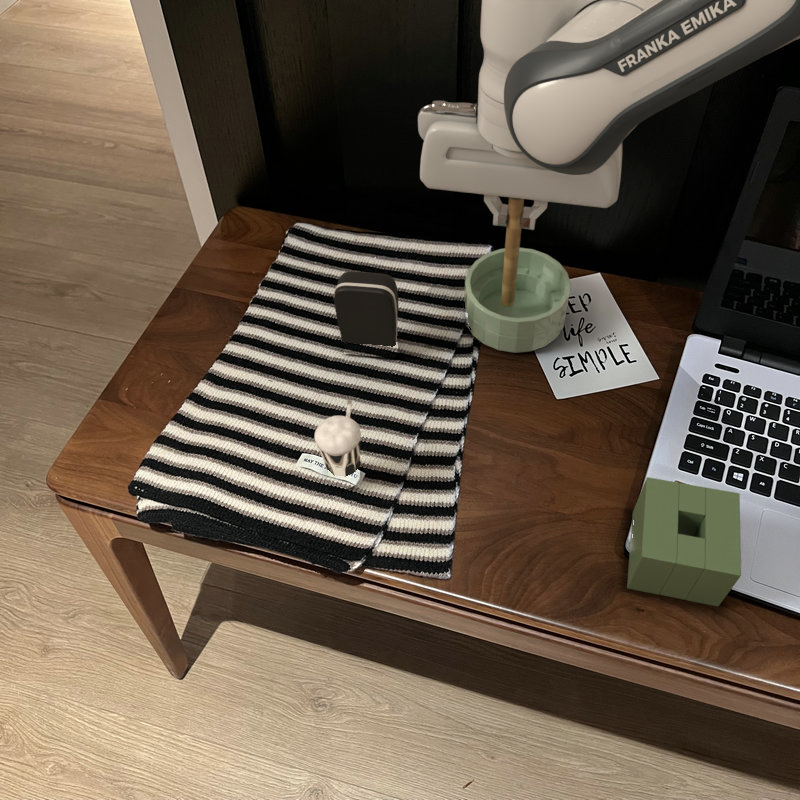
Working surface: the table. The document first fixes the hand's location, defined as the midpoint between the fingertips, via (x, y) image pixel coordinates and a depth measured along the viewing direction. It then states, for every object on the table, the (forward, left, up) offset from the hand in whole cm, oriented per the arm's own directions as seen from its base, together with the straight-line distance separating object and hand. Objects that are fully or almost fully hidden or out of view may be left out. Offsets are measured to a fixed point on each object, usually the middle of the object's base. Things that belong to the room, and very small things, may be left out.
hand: (514, 224), depth 84 cm
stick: (0, 0, -4) cm, 4 cm away
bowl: (-1, 0, -15) cm, 15 cm away
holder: (-21, +28, -15) cm, 38 cm away
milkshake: (+13, +26, -15) cm, 33 cm away
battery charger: (+15, +8, -15) cm, 23 cm away
